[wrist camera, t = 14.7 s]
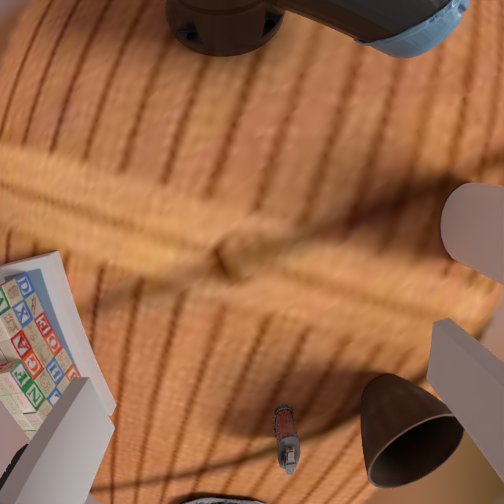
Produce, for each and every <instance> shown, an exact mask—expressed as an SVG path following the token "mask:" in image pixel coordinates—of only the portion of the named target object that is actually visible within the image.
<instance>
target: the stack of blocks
mask: <svg viewBox="0 0 504 504" xmlns="http://www.w3.org/2000/svg"><path fill="white" fill-rule="evenodd" d="M74 377H81V376H80V375H79V373H78V371H77V370H76V368H75V366H74V365H73V363H72V361H71V359H70V358H69V356H68V354H67V352H66V351H65V349H64V347H62V345H61V343H60V341H59V339H58V337H57V336H56V334H55V332H54V330H53V329H52V327H51V325H50V323H49V321H48V319H47V317H46V315H45V313H44V310H43V308H42V306H41V303H40V301H39V299H38V297H37V295H36V293H35V291H34V288H33V286H32V283H31V281H30V279H29V277H28V274H27V272H25V273H23V274H21V275H19V276H17V277H15V278H13V279H11V280H9V281H7V282H5V283H3V284H1V285H0V400H1V401H2V402H3V404H4V405H5V407H6V408H7V409H8V411H9V412H10V413H11V415H12V416H13V418H14V419H15V420H16V422H17V423H18V424H19V425H20V427H21V428H22V429H23V430H24V432H25V434H26V435H27V436H28V437H29V438H30V440H32V438H33V437H34V435H35V434H36V432H37V431H38V429H39V428H40V426H41V425H42V423H43V422H44V420H45V419H46V417H47V416H48V414H49V413H50V411H51V410H52V408H53V407H54V405H55V404H56V402H57V401H58V399H59V398H60V396H61V395H62V394H63V392H64V391H65V389H66V388H67V386H68V385H69V384H70V382H71V381H72V379H73V378H74Z"/></svg>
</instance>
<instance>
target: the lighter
mask: <svg viewBox="0 0 504 504" xmlns="http://www.w3.org/2000/svg"><path fill="white" fill-rule="evenodd" d="M273 424H274V432H275V435H276V438H277V445H278V448H277V455H278V462H279V464H280V467H281V468H283V469H286V474H287V475H291V474H294V468H296V465H297V463H298V461H299V457H300V444H299V440H298V435H297V432H296V431H295V427H294V416H293V412H292V408H291V407H290V406H289V405H281V406H278V407H277V408H276V410H275V414H274V421H273Z"/></svg>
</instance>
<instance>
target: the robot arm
mask: <svg viewBox="0 0 504 504" xmlns="http://www.w3.org/2000/svg"><path fill="white" fill-rule="evenodd" d="M469 2H470V0H167V1H166V17H167V21H168V23H169V26H170V28H171V30H172V32H173V33H174V35H175V36H176V38H177V39H178V40H179V41H180V42H181V43H182V44H184V45H185V46H187V47H188V48H190V49H192V50H194V51H196V52H199V53H202V54H206V55H211V56H234V55H240V54H244V53H247V52H250V51H252V50H255V49H257V48H259V47H260V46H262V45H264V44H265V43H266V42H268V41H269V40H270V39H271V38H272V37H273V36H274V35H275V34H276V32H277V31H278V29H279V28H280V26H281V23H282V20H283V17H284V13H285V10H287V11H290V12H293V13H296V14H298V15H301V16H303V17H306V18H308V19H311V20H313V21H316V22H318V23H321V24H323V25H325V26H328V27H330V28H332V29H335V30H337V31H339V32H341V33H343V34H345V35H348V36H350V37H352V38H354V40H355V41H356V42H358V43H360V44H362V45H367V46H371V47H373V48H375V49H377V50H379V51H381V52H383V53H385V54H387V55H389V56H392V57H396V58H412V57H415V56H419V55H421V54H423V53H425V52H427V51H429V50H431V49H432V48H434V47H435V46H437V45H438V44H439V43H440V42H442V41H443V40H444V39H445V38H446V37H447V36H448V35H449V34H450V33H451V32H452V31H453V30H454V29H455V28H456V27H457V25H458V24H459V22H460V21H461V19H462V15H461V13H463V12H464V11H465V10H467V8H468V6H469ZM426 380H427V381H428V383H429V384H430V385H431V386H432V388H433V389H434V390H435V391H436V393H437V394H438V395H439V396H440V398H441V399H442V400H443V401H444V403H445V404H446V405H447V407H448V408H449V409H450V410H451V412H452V413H453V414H454V416H455V417H456V418H457V420H458V421H459V422H460V424H461V425H462V426H463V427H464V429H465V430H466V431H467V433H468V434H469V435H470V437H471V438H472V439H473V441H474V442H475V444H476V445H477V446H478V447H479V449H480V450H481V452H482V453H483V454H484V456H485V457H486V459H487V460H488V461H489V463H490V464H491V466H492V467H493V468H494V470H495V471H496V472H497V474H498V475H499V477H500V478H501V480H502V481H503V483H504V363H503V362H502V361H501V360H499V359H498V358H497V357H496V356H495V355H493V354H492V353H491V352H490V351H489V350H488V349H487V348H485V347H484V346H483V345H482V344H481V343H479V342H478V341H477V340H476V339H475V338H473V337H472V336H471V335H470V334H468V333H467V332H466V331H465V330H464V329H462V328H461V327H460V326H459V325H457V324H456V323H455V322H454V321H452V320H451V319H450V318H446V319H443V320H440V321H437V322H434V323H433V330H432V340H431V349H430V357H429V365H428V372H427V379H426ZM114 429H115V427H114V425H113V424H112V422H111V420H110V418H109V416H108V414H107V412H106V410H105V408H104V406H103V404H102V402H101V400H100V398H99V396H98V394H97V392H96V390H95V388H94V386H93V384H92V382H91V379H90V377H74V378H73V379H72V381H71V382H70V384H69V385H68V386H67V388H66V389H65V391H64V392H63V394H62V395H61V396H60V398H59V399H58V401H57V402H56V404H55V405H54V407H53V408H52V410H51V411H50V413H49V414H48V416H47V417H46V419H45V420H44V422H43V423H42V425H41V426H40V428H39V429H38V431H37V432H36V434H35V435H34V437H33V438H32V440H31V441H30V443H29V444H26V445H25V446H23V447H22V448H21V449H20V450H19V451H17V453H16V454H15V456H14V457H13V459H12V461H11V464H9V465H8V467H7V469H6V472H4V473H3V475H2V477H1V478H0V504H85V501H86V498H87V495H88V493H89V490H90V488H91V485H92V483H93V480H94V478H95V475H96V473H97V470H98V468H99V465H100V463H101V460H102V458H103V455H104V453H105V451H106V448H107V446H108V443H109V441H110V439H111V436H112V434H113V432H114Z"/></svg>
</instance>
